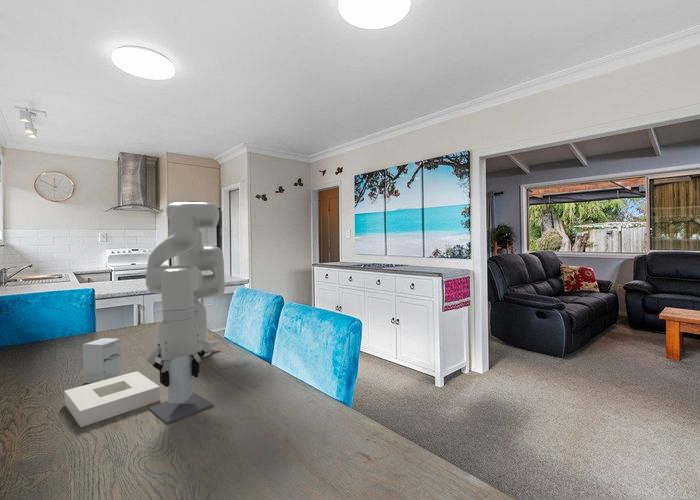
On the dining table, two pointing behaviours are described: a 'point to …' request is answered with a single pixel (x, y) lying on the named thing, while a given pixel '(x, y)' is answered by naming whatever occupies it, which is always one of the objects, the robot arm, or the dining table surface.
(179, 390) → the skincare box
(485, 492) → the dining table surface
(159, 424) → the dining table surface
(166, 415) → the rubber mat
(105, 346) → the supplement box
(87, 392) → the bore holder
